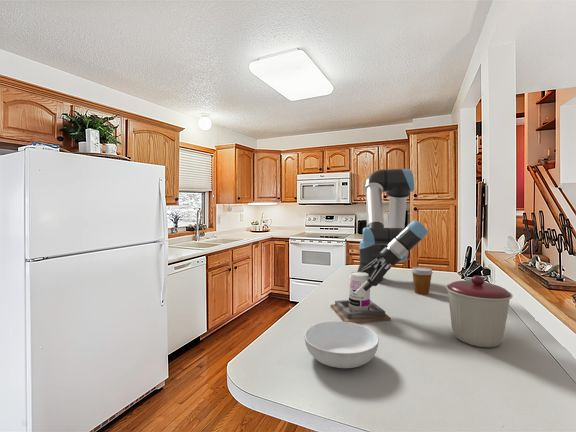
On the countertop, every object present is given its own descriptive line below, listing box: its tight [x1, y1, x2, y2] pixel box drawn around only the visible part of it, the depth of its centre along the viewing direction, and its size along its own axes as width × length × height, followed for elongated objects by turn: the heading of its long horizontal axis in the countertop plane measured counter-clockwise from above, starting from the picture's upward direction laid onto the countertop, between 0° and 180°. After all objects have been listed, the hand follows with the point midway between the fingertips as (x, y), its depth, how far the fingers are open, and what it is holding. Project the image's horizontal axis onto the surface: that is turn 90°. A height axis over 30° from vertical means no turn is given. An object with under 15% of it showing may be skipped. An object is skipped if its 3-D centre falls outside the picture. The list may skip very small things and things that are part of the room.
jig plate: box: [330, 299, 392, 324], centre depth 121 cm, size 18×18×3 cm
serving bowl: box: [303, 320, 380, 369], centre depth 86 cm, size 21×21×7 cm
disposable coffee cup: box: [411, 266, 433, 296], centre depth 147 cm, size 10×10×12 cm
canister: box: [445, 275, 514, 348], centre depth 97 cm, size 18×18×21 cm
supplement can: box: [348, 271, 371, 312], centre depth 121 cm, size 8×8×15 cm
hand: (354, 289), depth 121 cm, fingers open, 13 cm apart
